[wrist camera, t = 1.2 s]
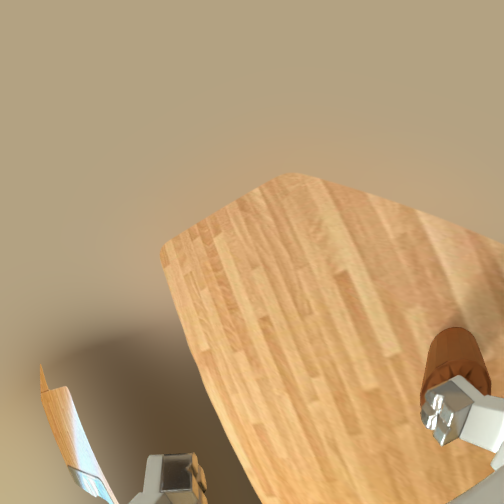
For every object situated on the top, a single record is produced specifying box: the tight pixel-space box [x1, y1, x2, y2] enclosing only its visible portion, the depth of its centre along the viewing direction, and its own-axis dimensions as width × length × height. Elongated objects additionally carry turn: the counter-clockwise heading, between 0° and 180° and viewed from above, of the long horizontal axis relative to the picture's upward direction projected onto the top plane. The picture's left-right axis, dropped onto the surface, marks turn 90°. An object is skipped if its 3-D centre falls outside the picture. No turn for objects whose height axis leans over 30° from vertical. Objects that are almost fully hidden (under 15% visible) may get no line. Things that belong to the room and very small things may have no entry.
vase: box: [420, 327, 491, 407], centre depth 23 cm, size 6×6×17 cm
